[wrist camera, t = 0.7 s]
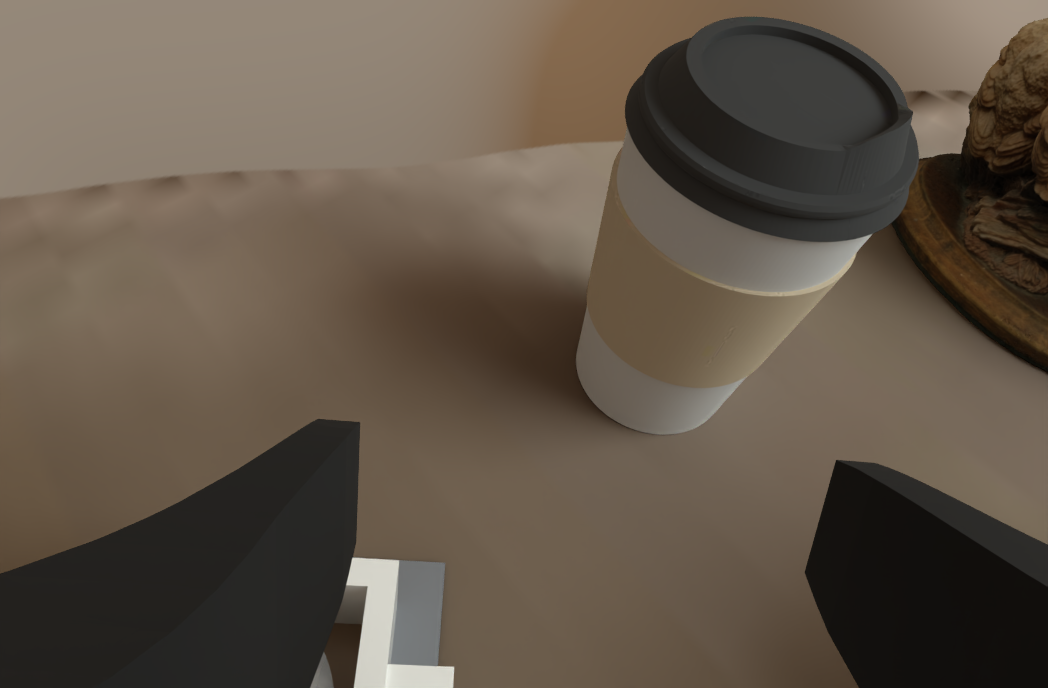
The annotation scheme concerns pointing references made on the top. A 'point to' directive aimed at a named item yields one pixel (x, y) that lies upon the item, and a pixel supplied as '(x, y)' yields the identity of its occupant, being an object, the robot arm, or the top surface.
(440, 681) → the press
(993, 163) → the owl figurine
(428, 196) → the top surface
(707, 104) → the coffee cup
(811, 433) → the top surface
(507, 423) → the top surface
